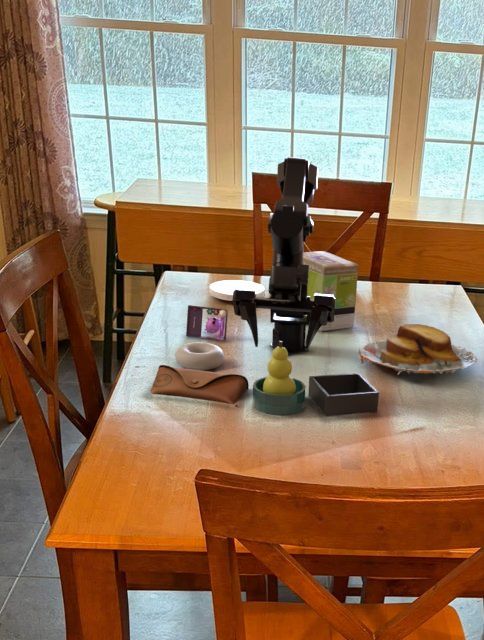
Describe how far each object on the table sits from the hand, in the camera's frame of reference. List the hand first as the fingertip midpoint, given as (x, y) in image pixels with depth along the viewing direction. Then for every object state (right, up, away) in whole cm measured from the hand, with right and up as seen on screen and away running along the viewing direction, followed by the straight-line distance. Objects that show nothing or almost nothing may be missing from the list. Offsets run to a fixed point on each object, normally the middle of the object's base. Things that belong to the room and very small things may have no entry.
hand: (281, 347), depth 151 cm
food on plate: (+27, +4, +28) cm, 39 cm away
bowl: (-1, -11, +3) cm, 11 cm away
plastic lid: (-16, +29, +61) cm, 70 cm away
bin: (+11, -10, +6) cm, 16 cm away
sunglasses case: (-16, -8, +6) cm, 19 cm away
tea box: (+6, +20, +50) cm, 54 cm away
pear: (-1, -10, +3) cm, 10 cm away
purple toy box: (-19, +12, +35) cm, 41 cm away
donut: (-18, +2, +20) cm, 27 cm away
